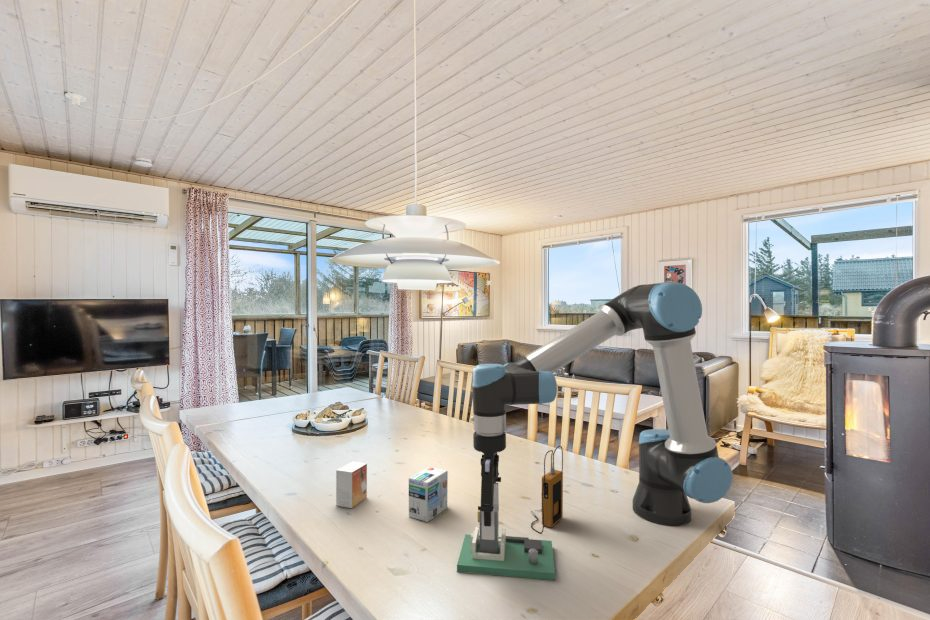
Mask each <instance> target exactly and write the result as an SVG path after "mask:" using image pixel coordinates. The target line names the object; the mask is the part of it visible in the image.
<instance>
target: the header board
mask: <svg viewBox="0 0 930 620" xmlns="http://www.w3.org/2000/svg"><path fill="white" fill-rule="evenodd" d="M506 531H507V530H506V528H502V530H501V536H498V554H491V553H480V526H479V527H478V526H475V529H474V531H473V532H471V534H464V538H463V542H462V544H461V548H460V549H461V550H460V553H459V557H458V559H457V563H456V572H458V573H466V574H468V573H469V574H479V575H491V576H503V577H514V578H523V579H525V578H527V579H534V580H548V581H556V570H555V561H554V550H553V541H552V540H546V539H533V538H529V537H525V536H524V537H523V536H513V535H512V536H511V535H506V534H507V533H506Z"/></svg>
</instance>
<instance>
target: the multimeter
mask: <svg viewBox="0 0 930 620" xmlns="http://www.w3.org/2000/svg"><path fill="white" fill-rule="evenodd" d="M558 448H560V449H561V470H558V469H555V457H554V456H555V453H556V451H557V450H558ZM550 452H551V454H550V455H551V456H550V470H549V472H548V473H546V457H547V455H548V454H549V453H550ZM563 452H564V451H563V446H561V445H557V447H555V449H554V450H553V449H551V450H547V452H546V453H545V455H544V461H543V476H542V477H541V508H540V509H536V510H534V511H535V512H536V511H537V512H538V511H540V512H541V525H542V530H541V532H540V531H538V530H536V529H535V528H534V527H533V524H534V523H535V522H537V521H538V520H539V518H538V516H536V514H535V513H534V511H533V510H532V509H529V510H530V511H529V512H530V513H531V514H532V516H533V517H534V518H535V519H536V520H534V521H532V522H531V523H530V528H531V529H532V530H533V531H535V532H536V533H538V534H543V532H544V528H545V527H548V528H550V529H551V528H553V527H554V526H555V525H556V524H557V523H558V522H559V521H561V520H562V519H563V517H564V515H563V514H564V513H563V511H564V506H563V503H564V502H563V501H564V500H563V498H564V495H563V493H564V492H563V489H564V487H563V486H564V485H563V484H564V482H563V481H564V472H563V469H564V467H563V465H564V464H563V463H564V453H563Z"/></svg>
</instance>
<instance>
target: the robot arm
mask: <svg viewBox="0 0 930 620" xmlns="http://www.w3.org/2000/svg"><path fill="white" fill-rule="evenodd" d="M702 315H703V304H702V301H701V299H700V297H699V295H698V293H697V292H696V291H695V290H694V289H693V288H691V287H690V286H688V285H686V284H685V283H681V282H672V281H671V282H670V281H665V282H656V283H650V284H649V283H648V284H640V285H636V286H633V287H631V288H629V289H627V290H625V291H624V292H622V293H619V294H618V295H617V296H615V297H614V298H612V299H611V300H608V301H607V302H606V303H604V304H602V305H601V306H600V307H599V311H598V312H596V313H595V314H593V315H591V316H590V317H588V318H586V319H585V320H583V321H582V322H579V323H578V324H577V325H575V326H573V327H572V328H570V329H568V330H567V331H565V332H563V333H562V334H560V335H558V336H556V337H555V338H553V339H552V340H550V341H549V342H547V343H545V344H544V345H542V346H540V347H538V348H537V349H534V351H531V352H530V353H528V354H527V355H525V356H524V357H521V358H520V359H518V360H516V361H515V362H507V363H505V364H501V363H481V364H477V365H475V366H474V368H473V370H472V384H471V386H472V412H473V415H472V416H471V417H470V421H472V422H473V431H474V432H473V449H474V450H475V451H477V452H480V453H482V454H481V458H480V466H481V467H480V470H481V471H480V477H481V482H480V484H481V485H480V488H481V489H480V506H479V505H478V506H477V511H478V510H480V511H481V521H482V539H485V540H494V539H495V534H494V507H493V504H499V505H500V501H499V490H500V489H499V483H501V482H502V477H500V473H499V462H500V455H499V454H498V453H501V452H503V451H504V450H506V448H507V434H506V432H505V431H506V430H507V413H506V408H507V407H506V406H519V405H521V406H522V405H542V404H549V403H550V404H551V403H553V402H554V401H555V399H556V398H557V395H558V384H557V379H556V377H555V375H554V373H555V372H557V371H558V370H560V369H561V368H563V367H565V366H567V365H569V364H570V363H571V362H573V361H575V360H576V359H578V358H579V357H581V356H583V355H585V354H586V353H588V352H591V350H593V349H594V348H596V347H598V346H599V345H601V344H602V343H604V342H606V341H607V340H609V339H611V338H612V337H615V336H619V337H620V336H623V335H625V334H627V333H628V332H631V331H634V330H640V329H642V331H643V332H642V333H643V337H644V340H645V342H647V343H648V344H650V345H651V347H652V349H653V354H654V355H653V356H654V360H655V364H656V365H655V366H656V371H657V376H658V377H657V378H658V381H659V387H660V392H661V398H662V403H663V409H664V414H665V417H666V418H665V419H666V424H667V429H662V428H659V429H658V428H657V429H656V428H655V429H653V428H652V429H644V430H642V431H641V432H640V433H639V437H638V438H639V439H638V451H639V452H638V465H639V466H638V468H639V469H638V470H639V471H638V480H639V482H638V484H637V487H636V489H635V492H634V494H633V497H632V511H633V513H635V514H636V515H637V516H638V517H641V518H642V519H644V520H646V521H649V522H652V523H655V524H659V525H666V526H682V524H683V525H686V524H689V523H690V522H691V521H690V520H692V507H691V505H690V502H689V499H688V498H690V499H693V500H695V501H697V502H700V503H702V504H713V503H716V502H718V501H720V500H721V499H722V498H724V497H725V496H726V494H727V492H728V491H730V488H731V487H732V484H733V479H734V478H733V477H734V474H733V470H732V467H731V465H730V464H729V463H728V462H726V460H725V459H723V458H721V457H719V451H718V446H717V442H716V440H715V439H714V438H713V437H711V436H709V435H708V430H707V425H706V420H705V414H704V410H703V409H704V408H703V403H702V398H701V393H700V385H699V382H698V375H697V370H696V364H695V358H694V354H693V348H692V344H691V342H692V340H693V338H694V337H695V336H696V335H697V333H696V331H697V330H696V326H698V324H699V323H700V319H701V318H702ZM487 504H489V505H487ZM499 509H500V508H499ZM499 509H498V512H499ZM689 521H690V522H689ZM685 523H686V524H685Z"/></svg>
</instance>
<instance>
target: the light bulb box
mask: <svg viewBox="0 0 930 620" xmlns="http://www.w3.org/2000/svg"><path fill="white" fill-rule="evenodd" d="M448 473H449V472H448V470H445V469H441V468H436V467H434V466H433V467H432V466H428V467H425V469H422V470H421V471H419V472H417V473H416V474H414V475H412V476H411V477H408V517H409V518H413V519H415V520H419V521H423V522H426V523H428V522H430V521H432V520H433V519H434V518H435V517H436V516H439V514H441V513H442V512H444V511H445V510H446V509H448V486H449V485H448V480H449V479H448V476H449V475H448Z"/></svg>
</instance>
